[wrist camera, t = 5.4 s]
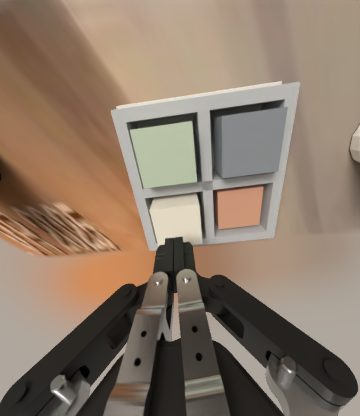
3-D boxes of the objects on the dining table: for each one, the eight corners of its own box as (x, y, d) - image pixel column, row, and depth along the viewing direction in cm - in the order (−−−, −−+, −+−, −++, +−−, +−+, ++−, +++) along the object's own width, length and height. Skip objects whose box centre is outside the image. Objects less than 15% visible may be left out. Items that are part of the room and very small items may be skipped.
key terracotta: (250, 177, 20) (263, 186, 17) (248, 211, 22) (259, 224, 19) (211, 182, 20) (217, 192, 17) (213, 215, 22) (218, 229, 20)
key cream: (195, 191, 18) (199, 204, 15) (199, 226, 21) (202, 243, 18) (153, 196, 19) (149, 210, 16) (161, 231, 21) (158, 248, 18)
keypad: (276, 83, 17) (312, 68, 12) (260, 219, 24) (278, 241, 20) (119, 107, 17) (99, 101, 13) (151, 232, 25) (145, 255, 20)
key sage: (189, 121, 15) (192, 120, 12) (193, 172, 17) (197, 181, 14) (138, 128, 15) (129, 130, 12) (149, 177, 18) (143, 188, 15)
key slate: (266, 110, 15) (288, 106, 12) (260, 163, 17) (278, 171, 14) (213, 117, 15) (221, 116, 12) (214, 169, 17) (222, 178, 14)
